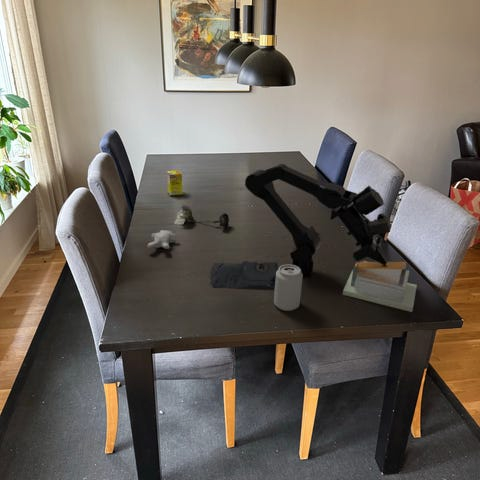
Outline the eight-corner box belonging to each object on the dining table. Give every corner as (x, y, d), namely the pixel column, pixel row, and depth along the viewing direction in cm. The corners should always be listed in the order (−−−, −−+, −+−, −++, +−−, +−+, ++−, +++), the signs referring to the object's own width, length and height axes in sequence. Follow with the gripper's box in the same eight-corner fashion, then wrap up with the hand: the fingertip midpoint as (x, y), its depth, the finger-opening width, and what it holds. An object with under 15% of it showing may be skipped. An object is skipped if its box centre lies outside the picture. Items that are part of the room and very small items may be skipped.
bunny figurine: (179, 228, 162) (171, 240, 148) (179, 241, 163) (171, 254, 149) (154, 226, 162) (143, 239, 148) (155, 239, 164) (144, 253, 150)
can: (297, 298, 128) (301, 262, 123) (301, 312, 121) (305, 275, 116) (272, 297, 128) (275, 262, 123) (274, 312, 121) (277, 275, 116)
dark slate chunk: (211, 265, 145) (211, 253, 143) (276, 267, 146) (277, 255, 144) (208, 289, 132) (208, 276, 130) (280, 291, 132) (281, 278, 130)
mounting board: (342, 294, 131) (343, 290, 130) (351, 274, 142) (352, 270, 142) (412, 312, 123) (413, 307, 123) (415, 288, 135) (416, 284, 134)
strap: (354, 269, 132) (353, 266, 131) (356, 264, 135) (356, 261, 134) (405, 270, 125) (404, 266, 125) (406, 264, 128) (405, 261, 127)
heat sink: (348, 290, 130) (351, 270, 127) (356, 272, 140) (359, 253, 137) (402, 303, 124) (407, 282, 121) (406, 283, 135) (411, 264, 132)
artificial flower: (222, 236, 169) (217, 215, 163) (173, 231, 178) (167, 212, 172) (231, 223, 175) (226, 202, 169) (183, 219, 184) (177, 199, 178)
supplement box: (182, 195, 205) (182, 173, 201) (170, 197, 203) (169, 174, 199) (179, 191, 210) (179, 170, 206) (167, 193, 208) (166, 171, 204)
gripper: (372, 219, 116) (406, 265, 116) (382, 198, 131) (412, 239, 132) (339, 239, 122) (371, 282, 123) (352, 217, 137) (381, 255, 138)
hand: (385, 263), depth 129 cm, fingers closed, pressing on strap
